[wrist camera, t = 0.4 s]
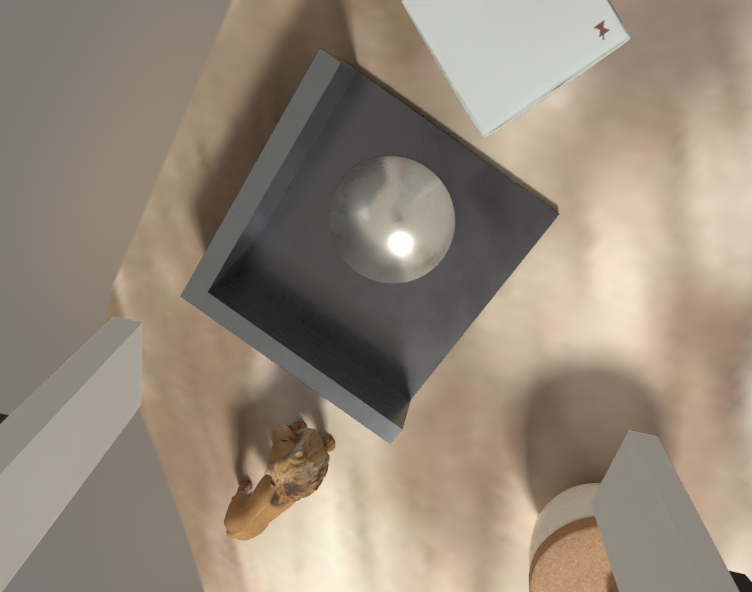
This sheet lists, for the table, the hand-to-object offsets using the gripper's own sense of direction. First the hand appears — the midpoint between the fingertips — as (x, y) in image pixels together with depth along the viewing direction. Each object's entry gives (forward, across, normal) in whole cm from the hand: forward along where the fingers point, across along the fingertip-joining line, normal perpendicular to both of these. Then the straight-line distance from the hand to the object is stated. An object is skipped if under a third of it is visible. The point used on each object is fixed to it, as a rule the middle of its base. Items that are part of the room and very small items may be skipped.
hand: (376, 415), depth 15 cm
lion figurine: (+24, -4, -25) cm, 35 cm away
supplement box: (+28, +4, +8) cm, 29 cm away
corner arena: (+26, -1, -6) cm, 27 cm away
